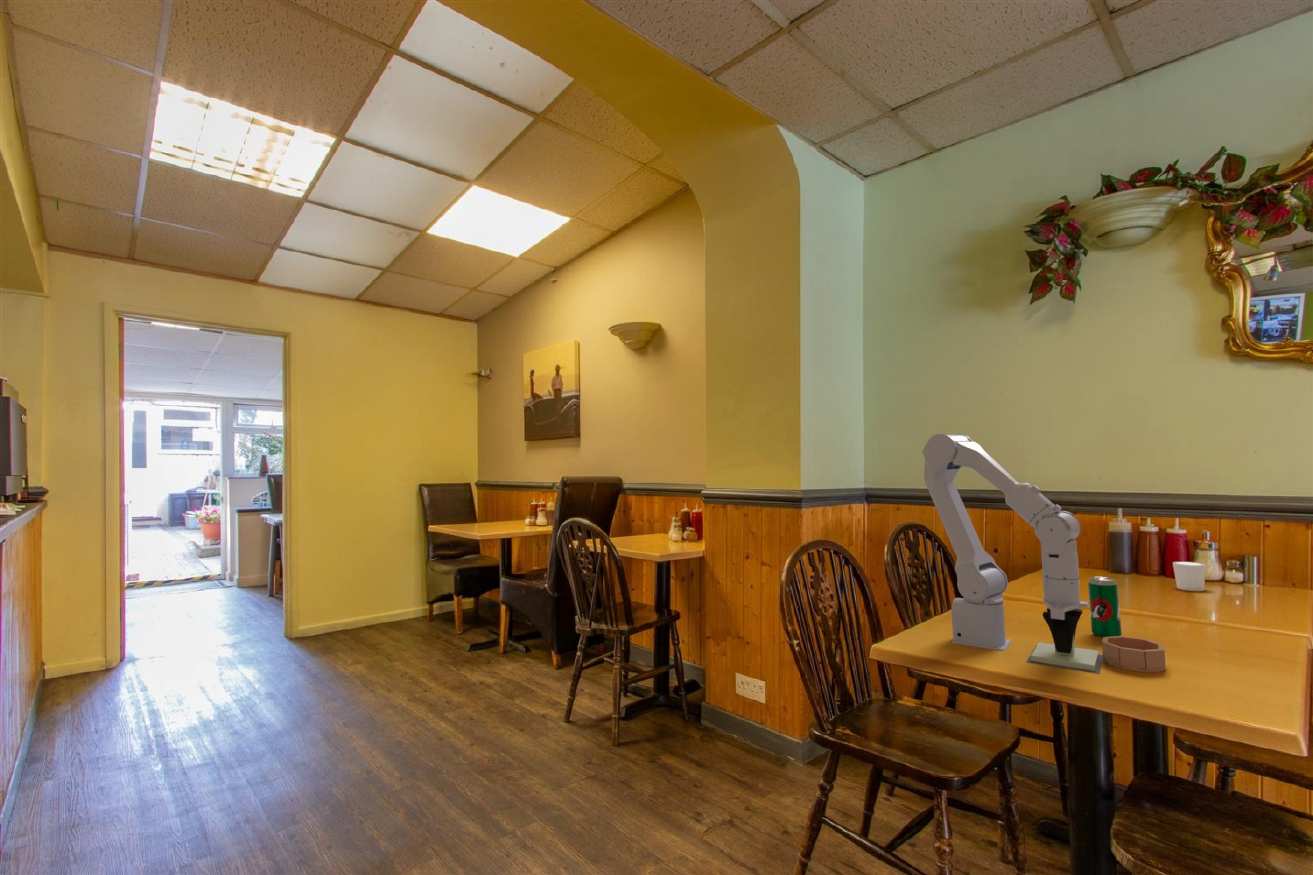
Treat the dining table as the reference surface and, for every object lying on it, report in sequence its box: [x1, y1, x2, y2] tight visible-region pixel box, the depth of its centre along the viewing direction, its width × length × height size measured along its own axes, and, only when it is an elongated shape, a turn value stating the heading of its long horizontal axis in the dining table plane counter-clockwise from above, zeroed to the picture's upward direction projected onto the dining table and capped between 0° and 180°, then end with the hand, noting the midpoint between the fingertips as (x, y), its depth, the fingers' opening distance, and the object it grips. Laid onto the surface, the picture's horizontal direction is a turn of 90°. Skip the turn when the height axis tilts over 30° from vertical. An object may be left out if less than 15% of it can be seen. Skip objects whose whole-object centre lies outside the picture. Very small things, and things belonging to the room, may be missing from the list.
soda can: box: [1087, 576, 1123, 638], centre depth 127 cm, size 5×5×12 cm
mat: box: [1025, 645, 1104, 675], centre depth 113 cm, size 11×12×1 cm
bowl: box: [1101, 635, 1167, 673], centre depth 110 cm, size 9×9×4 cm
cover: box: [1030, 635, 1100, 671], centre depth 113 cm, size 10×10×5 cm
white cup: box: [1172, 561, 1206, 592], centre depth 166 cm, size 7×7×7 cm
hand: (1064, 649), depth 113 cm, fingers closed on cover, 3 cm apart
